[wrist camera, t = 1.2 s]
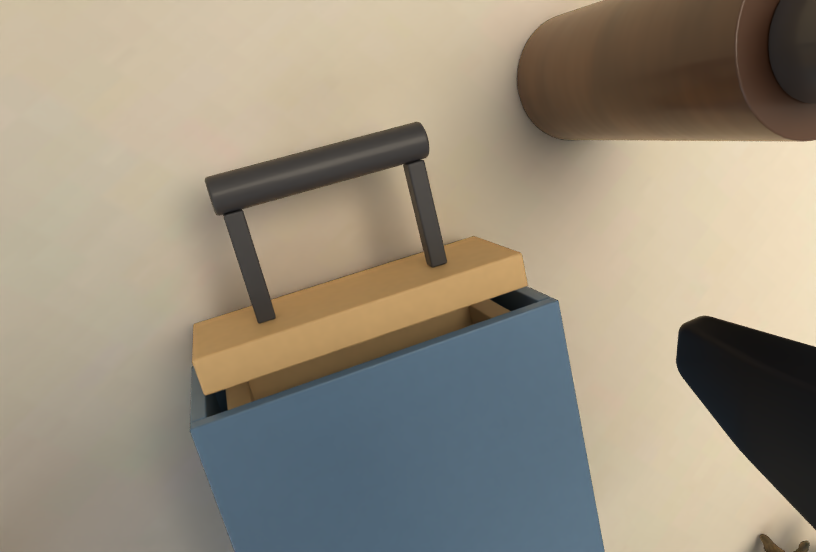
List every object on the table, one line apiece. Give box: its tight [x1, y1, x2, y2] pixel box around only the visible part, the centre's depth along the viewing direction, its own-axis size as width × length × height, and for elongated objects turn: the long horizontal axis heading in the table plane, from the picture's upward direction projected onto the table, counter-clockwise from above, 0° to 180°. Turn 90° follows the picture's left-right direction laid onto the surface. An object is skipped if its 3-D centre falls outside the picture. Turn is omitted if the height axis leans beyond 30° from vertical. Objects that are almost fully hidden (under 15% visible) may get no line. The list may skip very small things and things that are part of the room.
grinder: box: [517, 0, 816, 141], centre depth 20 cm, size 5×5×13 cm
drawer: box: [192, 122, 528, 410], centre depth 23 cm, size 18×11×4 cm, turn 13°
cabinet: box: [190, 286, 604, 552], centre depth 24 cm, size 14×12×6 cm
